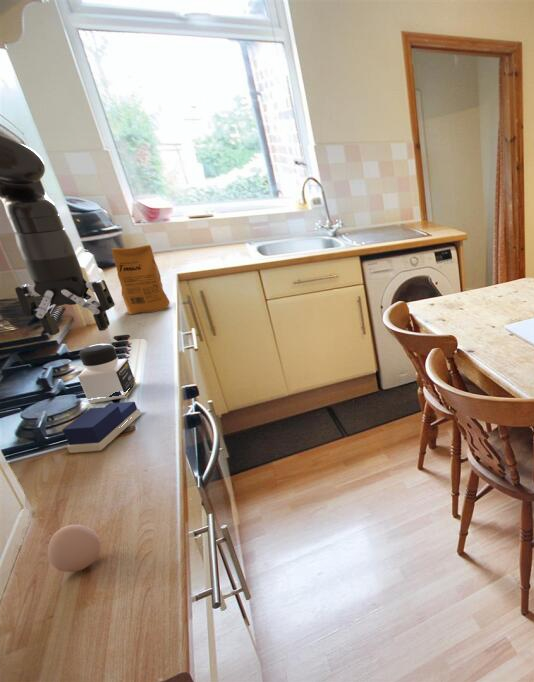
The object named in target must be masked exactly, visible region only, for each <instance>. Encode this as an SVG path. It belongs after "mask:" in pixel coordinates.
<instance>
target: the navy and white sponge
mask: <svg viewBox="0 0 534 682" xmlns="http://www.w3.org/2000/svg"><path fill="white" fill-rule="evenodd" d="M141 415H142V413H141V410H140V408H139V407H137V404H136V402H135V401H123V402H109V403H108V404H106V405H105V406H101V407H90V408H89V409H87V410H86V411H85V412H84V413H82V414H80V415H79V416H78V417H76V418H75V419H74V420H73V421H71V422H70V423H68V424H67V425H66V426H64V427H63V428H62V429H61V430H62V432H63V435H64V436H65V438H66V441H67V443H68V445H67V446H66V448H67V450H68V452H69V453H70V454H74V453H75V454H76V453H87V452H100V451H103V449H105V448H106V447H107V446H108V445H109V444H110V443H111V442H112V441H113V440H115V439H116V438H117V437H118V436H119V435H120V434H121V433H122V432H123V431H124V430H125V429H126V428H128V427H129V426H130V425H131V424H132V423H133V422H134V421H136V420H137V419H138V418H139V417H140V416H141ZM131 417H132V418H131ZM130 418H131V419H130ZM127 420H128V421H127ZM126 421H127V422H126ZM125 422H126V423H125ZM124 423H125V424H124ZM123 424H124V425H123ZM122 425H123V426H122ZM121 426H122V427H121ZM119 427H120V428H119Z"/></svg>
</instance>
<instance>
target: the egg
mask: <svg viewBox="0 0 534 682" xmlns="http://www.w3.org/2000/svg"><path fill="white" fill-rule="evenodd" d="M101 545H102V544H101V541H100V537H99V536H98V534H97V532H95V530H93V529H91V528H89V527H88V526H85V525H82V524H69V525H65V526H63V527H61V528H60V529H58V530H57V531H56V532H55V533H53V535H52V537H51V538H50V540H49V543H48V546H47V551H46V552H47V553H46V555H47V559H48V561H49V563H50V565H51V566H52V567H53V568H54V569H56V570H58V571H60V572H64V573H75V572H80V571H82V570H85V569H86V568H88V567H89V566H90V565H92V564H93V563H95V561H96V559H97V558H98V556H99V554H100V551H101Z"/></svg>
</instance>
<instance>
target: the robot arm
mask: <svg viewBox="0 0 534 682" xmlns="http://www.w3.org/2000/svg"><path fill="white" fill-rule="evenodd" d="M45 173H46V166H45V163H44V161H43V159H42V157H41V156H40V155H39V154H38V153H37V152H36V151H35V150H33V149H32V148H30V147H28V146H27V145H25V144H22V143H21V142H18V141H16V140H14V139H11V138H9V137H6V136H4V135H1V134H0V201H1V204H2V206H3V208H4V212H5V215H6V218H7V221H8V222H9V225H10V228H11V230H12V232H13V235H14V239H15V243H16V246H17V249H18V251H19V254H20V256H21V258H22V261H23V262H24V266H25V268H26V271H27V272H28V275H29V277H30V279H31V281H33V283H34V285H32V284H29V283H24V284H21V285H19V286H17V287H15V288H14V291H15V293H16V296H17V299H18V302H19V305H20V307H21V310H22V313H23V315H24V316H26V317H36V318H38V319H39V321H40V324H41V325H42V328H43V330H44V331H45V332H46V333H48V335H49V336H55V335H57V334H60V332H61V331H60V328H59V325H58V323H57V319H56V318H55V315H54V314H52V312H53V310H54V308H55V307H58V306H59V307H60V306H65V305H69V306H73V305H75V306H76V304H77V305H79V306H80V307H82V308H86V309H87V310H88V311H90V312H91V313H93V314H92V316H93V319H94V322H95V324H96V327H97V328H98V331H100V332H103V331H106V330H108V328H109V326H110V325H111V324H110V320H109V317H108V314H107V311H108V310H111V309H112V308H113V307H115V305H116V304H115V301H114V299H113V297H112V295H111V292H110V290H109V288H108V285H107V283H106V281H105V280H104V279H103V278H100V279H98V280H94V281H87V280H86V279H85V278H84V275H83V270H82V267H81V265H80V261H79V259H78V257H77V254H76V251H75V249H74V246H73V242H72V241H71V238H70V237H69V234H68V233H67V231H66V229H65V227H64V224H63V221H62V218H61V215H60V213H59V211H58V209H57V206H56V205H55V203H54V202H53V201H52V199H50V198H49V196H48V195H47V193H46V190H45V187H44V185H43V183H42V181H41V180H42V178H43V177H44V175H45ZM89 289H90V291H91V292H92V293H94V294H95V296H96V297H95V296H94V295H92V294H91V293H89V292H88V290H89ZM36 294H38V295H39V296H40V297H42V300H41V302H40V304H39V305H38V302H37V300H36V297H35V295H36Z"/></svg>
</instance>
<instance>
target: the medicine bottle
mask: <svg viewBox="0 0 534 682" xmlns="http://www.w3.org/2000/svg"><path fill="white" fill-rule="evenodd" d="M78 356H79V358H80V360H81V363H82V365H83V368H84V369H83V370H82V371H81V372H80V373H79V374H78V375H77V378H78V381H79V383H80V385H81V388H82V390H83V392H84V394H85V398H86V400H87V399H91V398H97V397H106V398H100V399H93V400H87V402H88V403H89V404H95V403H102V402H108V401H114V400H121V399H122V400H123V399H126V398H128V396H129V395H130V393H131V392H132V391H133V389H135V387H136V385H137V382H136V379H135V377H134V374H133V372H132V369H131V366H130V363H129V361H128V359H127V358H120V359H119V357H118V355H117V352H116V349H115V345H113V344H111V343H97V344H93V345H92V344H91V345H89V346H85V348H83V349H81V350H80V351H79V353H78ZM129 388H130V389H129ZM128 389H129V390H128ZM127 390H128V392H127V393H126V394H125V395H119V396H112V397H109V396H110V395H112V394H113V393H115V392H119V391H123V392H126V391H127Z"/></svg>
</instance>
